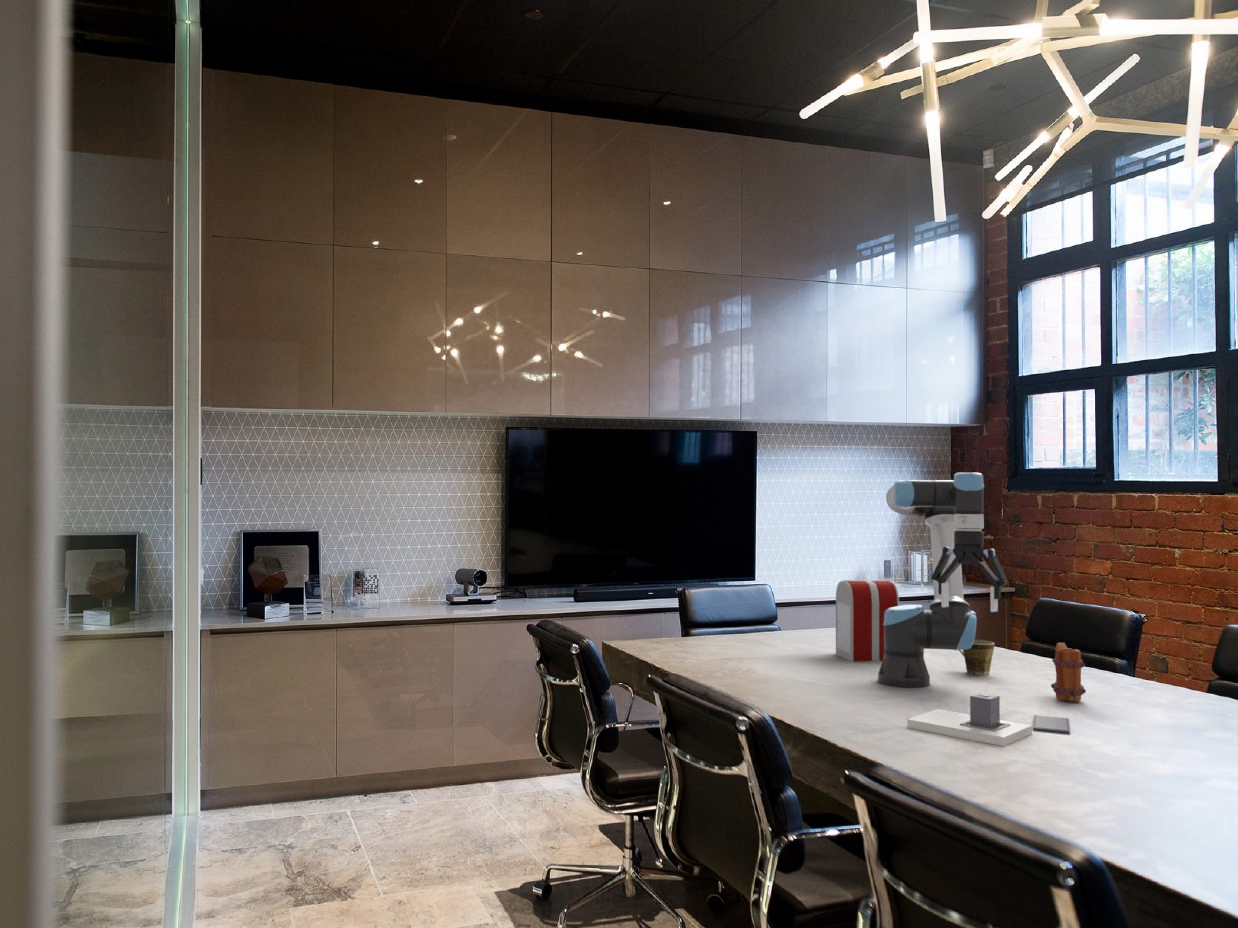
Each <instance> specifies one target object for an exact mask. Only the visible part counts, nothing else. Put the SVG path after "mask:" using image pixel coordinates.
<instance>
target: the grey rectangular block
mask: <svg viewBox="0 0 1238 928" xmlns="http://www.w3.org/2000/svg"><path fill="white" fill-rule="evenodd" d="M1000 701H1001V700H1000V696H999V695H994V694H988V693H982V692H978V693H975V694H972V695H970V696H969V703H970V704H969V707H970V708H969V712H970V713H969V715H970V725H973V726H979V727H984V728H989V729H995V728H997V727H1000V720H1001V719H1000V717H1001V715H1000V713H1001V711H1000V709H1001V708H1000Z"/></svg>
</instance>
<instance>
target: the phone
mask: <svg viewBox="0 0 1238 928" xmlns="http://www.w3.org/2000/svg"><path fill="white" fill-rule="evenodd" d="M1033 716H1034V717H1033V725H1032V732H1042V733H1052V734H1053V733H1055V734H1061V735H1062V734H1063V735H1071V733H1070V723H1069V722H1070V719H1069V718H1067V717H1058V716H1057V717H1056V716H1048V715H1047V716H1046V715H1036V714H1034V715H1033Z"/></svg>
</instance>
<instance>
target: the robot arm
mask: <svg viewBox="0 0 1238 928" xmlns="http://www.w3.org/2000/svg"><path fill="white" fill-rule="evenodd" d="M953 476H954V477H953V480H947V479H946V480H945V479H944V480H941V479H940V480H936V479H935V480H934V479H933V480H926V479H925V480H923V479H921V480H918V479H917V480H913V479H912V480H909V479H904V480H902V479H901V480H896V481H894V484H893V485H892V486H890V488H889V489H888V491H887V493H886V496H885V498H886V504H887V506H888V507H889V508H890V509H891V510H892V511H893V512H895V513H897V514H900V515H902V516H907V517H910V518H911V517H912V518H913V517H914V518H924V523H925V525H926V526H928V527H929V530H930V547H931V549H930V550H931V561H932V562H931V563H932V565H931V566H932V576H931V580H932V582H933V583H932V584H933V597H934V598H933V601H932V602H930V604H929V609H925V608H924V605H921V604H904V605H902V604H901V605H899V606H895V607H891V608H888V609H887V610H886V611H885V613H884V623H883V625H884V658H883V661H881V664H880V667H879V671H878V673H877V681H878V682H879V683H880V684H883V685H888V686H893V687H900V688H901V687H903V688H921V687H922V688H923V687H927V686H930V684H931V681H930V680H931V677H930V674H929V669H928V667H927V664H926V661H925V657H924V655H925V653H924V651H925V649H928V650H950V651H951V650H952V651H953V650H954V651H959V650H961V651H963V650H967V649H970V648H971V647H972V645H973V643H974V640H976V639H975V638H976V632H977V620H978V619H977V613H976V612H975V611H973V610H971V609H970V603H968V602H967V601H966V600H965V599H964V598H965V596H964V584H963V583H964V582H963V569H962V565H971V566H977V567H978V568H979V569H980V570H981V572H982V573H983V574H984V576H985V577H986V578H987V579H988V581H990V583H991V584H992V586H990V595H989V597H990V598H989V599H990V612H991V613H995V612H999V609H998V608H999V603H998V602H999V600H1000V599H1001V598H1002V586H1006V585H1008V584H1009V580H1008V578H1007V575H1006V574H1005V571H1004V569H1003V567H1002V566H1001V564H1000V562H999V561H1000V560H999V559H998V557H997V551H996V549H995V548H989V549H985V548H984V545H985V544H984V543H985V536H984V535H985V533H984V531H983V529H984V528H985V521H984V519H985V518H984V517H985V516H984V492H985V491H984V489H985V484H984V475H983V473H981V472H956V473H955V474H954V475H953ZM984 556H986V558H988V561H989V563H990V566H991V567H992V570H991V568H990V567H989V566H988V564H987V562H986V561H985V560H984ZM993 571H994V572H993Z"/></svg>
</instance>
